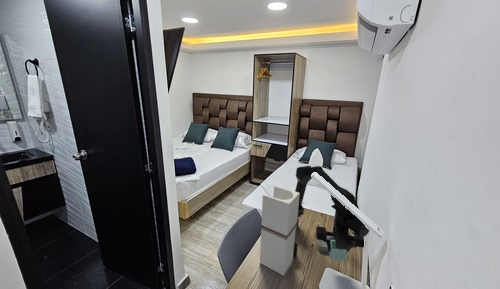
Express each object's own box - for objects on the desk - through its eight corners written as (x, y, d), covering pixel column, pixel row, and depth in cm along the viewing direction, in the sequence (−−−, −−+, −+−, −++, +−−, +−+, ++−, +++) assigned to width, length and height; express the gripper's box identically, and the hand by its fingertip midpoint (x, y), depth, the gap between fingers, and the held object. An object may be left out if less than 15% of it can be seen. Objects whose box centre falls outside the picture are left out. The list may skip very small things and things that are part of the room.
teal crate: (330, 258, 86) (331, 249, 85) (328, 248, 92) (329, 239, 90) (345, 261, 85) (346, 251, 83) (342, 251, 90) (344, 242, 89)
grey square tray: (318, 251, 100) (318, 245, 99) (316, 237, 109) (317, 232, 109) (340, 255, 97) (341, 250, 97) (337, 240, 107) (337, 235, 106)
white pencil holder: (293, 262, 92) (299, 192, 83) (283, 279, 83) (289, 203, 75) (271, 251, 98) (275, 185, 89) (259, 266, 89) (262, 194, 81)
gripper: (319, 229, 79) (315, 262, 82) (372, 238, 74) (365, 273, 78) (317, 213, 89) (314, 243, 93) (364, 220, 85) (358, 252, 89)
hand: (336, 252), depth 88 cm, fingers closed on teal crate, 6 cm apart
